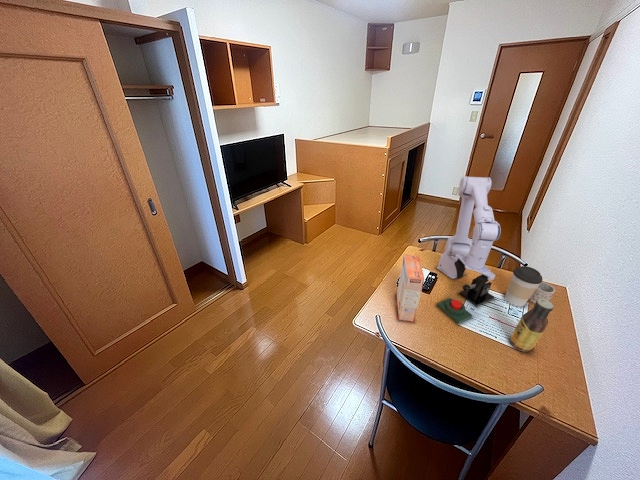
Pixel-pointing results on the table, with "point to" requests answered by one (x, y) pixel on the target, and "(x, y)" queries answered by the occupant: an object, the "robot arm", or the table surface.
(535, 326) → the sauce bottle
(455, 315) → the block
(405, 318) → the cracker box
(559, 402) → the table surface
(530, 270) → the coffee cup
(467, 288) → the lever
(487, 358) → the table surface
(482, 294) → the bracket
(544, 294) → the mug
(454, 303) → the button
